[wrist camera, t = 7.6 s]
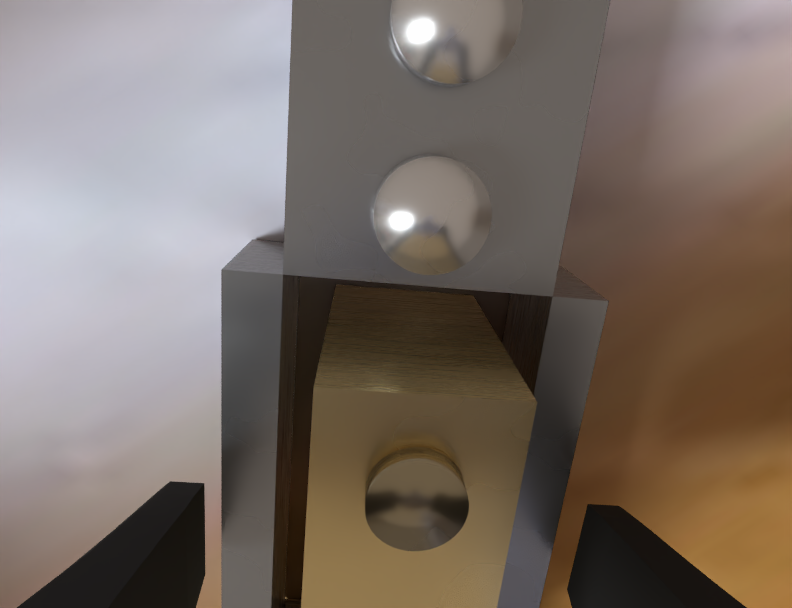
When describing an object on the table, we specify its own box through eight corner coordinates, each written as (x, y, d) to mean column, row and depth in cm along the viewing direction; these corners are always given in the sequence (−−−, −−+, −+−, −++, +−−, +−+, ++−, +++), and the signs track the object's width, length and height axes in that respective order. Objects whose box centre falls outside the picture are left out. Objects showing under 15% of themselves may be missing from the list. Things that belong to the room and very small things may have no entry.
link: (471, 294, 12) (546, 416, 7) (430, 580, 15) (462, 828, 9) (336, 282, 12) (310, 402, 7) (317, 575, 14) (286, 825, 9)
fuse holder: (611, 9, 10) (706, -37, 7) (468, 737, 16) (490, 872, 13) (257, -34, 10) (209, -102, 7) (244, 733, 16) (214, 872, 13)
